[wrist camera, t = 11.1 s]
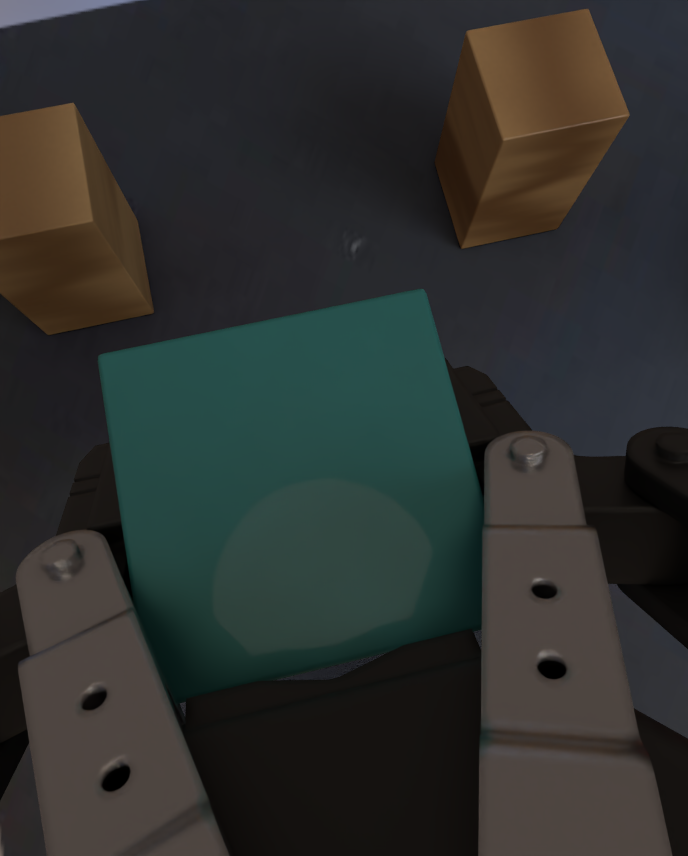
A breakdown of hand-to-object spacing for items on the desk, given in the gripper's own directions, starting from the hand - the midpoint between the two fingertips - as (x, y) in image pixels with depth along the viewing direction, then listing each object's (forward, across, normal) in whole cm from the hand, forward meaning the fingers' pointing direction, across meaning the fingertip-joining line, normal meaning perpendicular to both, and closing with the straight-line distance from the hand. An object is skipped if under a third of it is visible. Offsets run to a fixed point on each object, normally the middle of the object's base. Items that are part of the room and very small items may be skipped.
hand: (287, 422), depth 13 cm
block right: (+20, -12, +2) cm, 24 cm away
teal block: (+2, 0, +4) cm, 5 cm away
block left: (+20, +8, +2) cm, 22 cm away
